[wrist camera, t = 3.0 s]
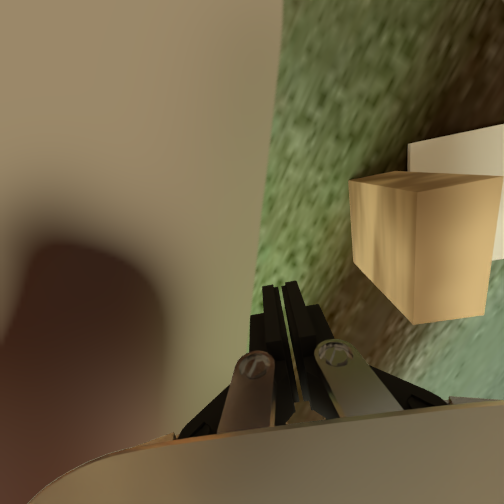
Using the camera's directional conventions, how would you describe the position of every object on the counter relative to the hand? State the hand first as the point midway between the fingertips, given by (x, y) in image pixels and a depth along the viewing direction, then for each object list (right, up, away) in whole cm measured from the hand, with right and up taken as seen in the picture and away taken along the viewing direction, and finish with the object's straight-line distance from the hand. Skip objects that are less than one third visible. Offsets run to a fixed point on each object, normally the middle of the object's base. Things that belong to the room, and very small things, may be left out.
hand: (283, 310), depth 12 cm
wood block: (+10, +6, +11) cm, 16 cm away
